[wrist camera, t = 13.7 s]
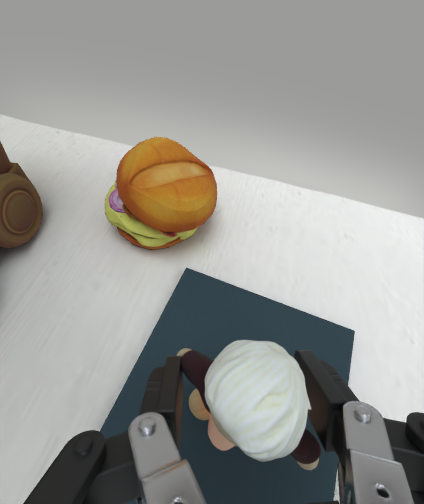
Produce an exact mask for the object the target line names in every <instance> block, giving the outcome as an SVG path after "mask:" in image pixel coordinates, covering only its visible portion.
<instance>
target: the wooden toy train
mask: <svg viewBox="0 0 424 504" xmlns="http://www.w3.org/2000/svg"><path fill="white" fill-rule="evenodd" d="M41 220H42V203H41V199H40V196H39V194H38V192H37V191H36V189H35V187H34V186H33V184H32V183H31V182H30V180H29V179H28V177H27V176H26V175H25V173H24V172H23V170H22V169H21V167H20V166H19V165H18V163H11V162H10V161H9V159H8V157H7V154H6V152H5V150H4V148H3V146H2V144H1V142H0V247H5V248H13V247H17V246H20V245H23V244H25V243H26V242H28V241H29V240H31V239H32V237H33V236H34V235H35V234H36V232H37V231H38V229H39V226H40V224H41Z"/></svg>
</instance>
